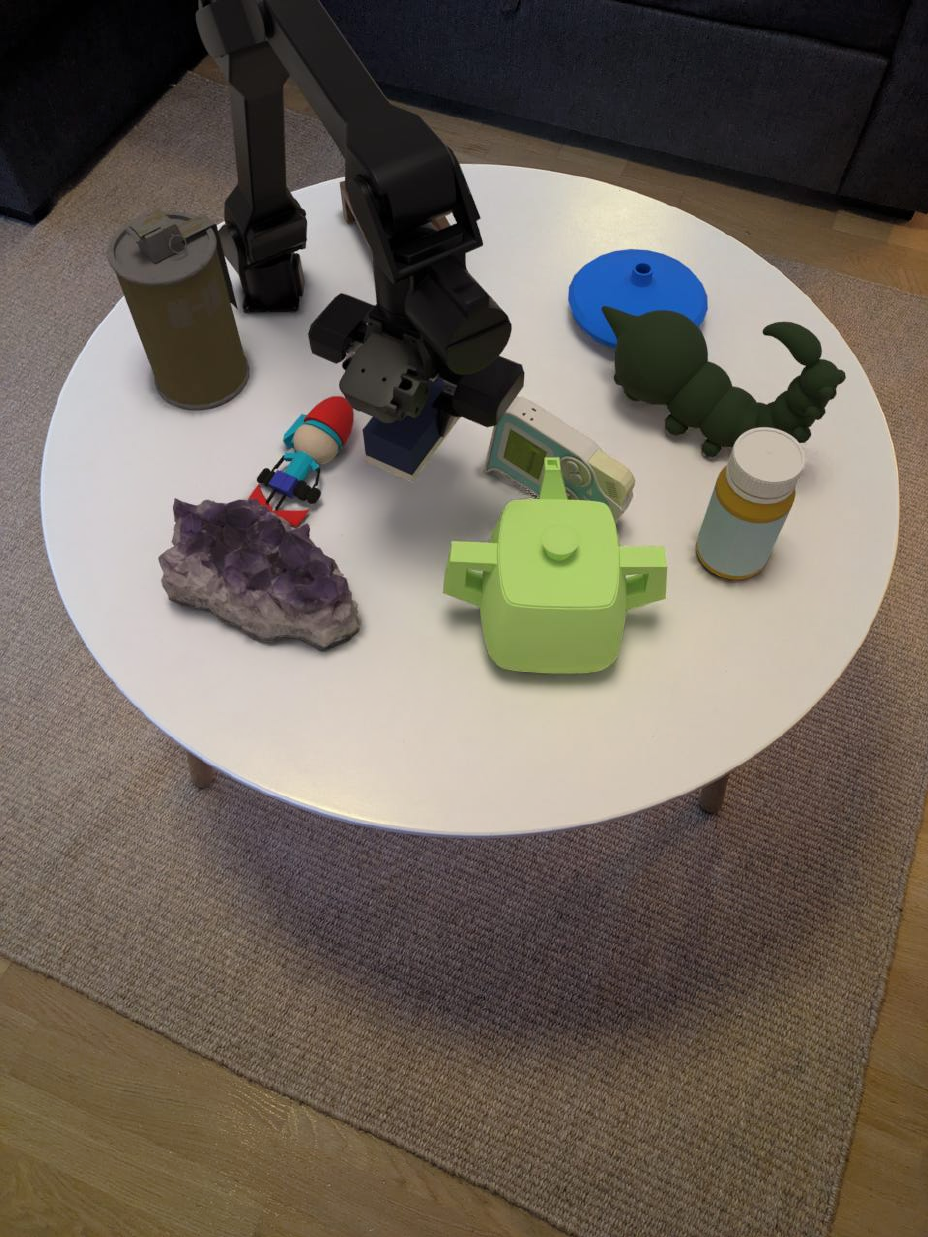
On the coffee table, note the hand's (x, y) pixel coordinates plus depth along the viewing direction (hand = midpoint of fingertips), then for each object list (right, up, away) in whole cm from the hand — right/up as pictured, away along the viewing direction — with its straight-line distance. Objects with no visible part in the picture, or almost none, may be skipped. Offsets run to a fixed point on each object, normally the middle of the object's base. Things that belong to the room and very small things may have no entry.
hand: (418, 423), depth 94 cm
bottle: (+30, -12, +5) cm, 33 cm away
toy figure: (-12, -3, +11) cm, 16 cm away
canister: (-25, +9, +18) cm, 32 cm away
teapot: (+12, -17, +2) cm, 21 cm away
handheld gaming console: (+13, -6, +8) cm, 17 cm away
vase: (+24, +16, +22) cm, 36 cm away
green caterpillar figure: (+29, +3, +14) cm, 32 cm away
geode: (-15, -16, +3) cm, 22 cm away
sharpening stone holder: (-3, +26, +28) cm, 38 cm away
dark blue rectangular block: (0, -1, +1) cm, 1 cm away
